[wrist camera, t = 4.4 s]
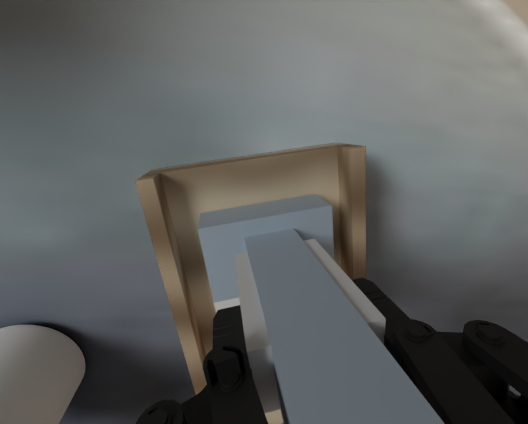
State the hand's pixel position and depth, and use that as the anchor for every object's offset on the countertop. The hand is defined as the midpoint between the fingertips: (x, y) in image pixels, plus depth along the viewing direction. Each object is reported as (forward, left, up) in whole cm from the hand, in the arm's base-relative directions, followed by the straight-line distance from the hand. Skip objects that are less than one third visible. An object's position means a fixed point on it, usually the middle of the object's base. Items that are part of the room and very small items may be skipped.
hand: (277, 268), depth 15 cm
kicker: (0, 0, -5) cm, 5 cm away
